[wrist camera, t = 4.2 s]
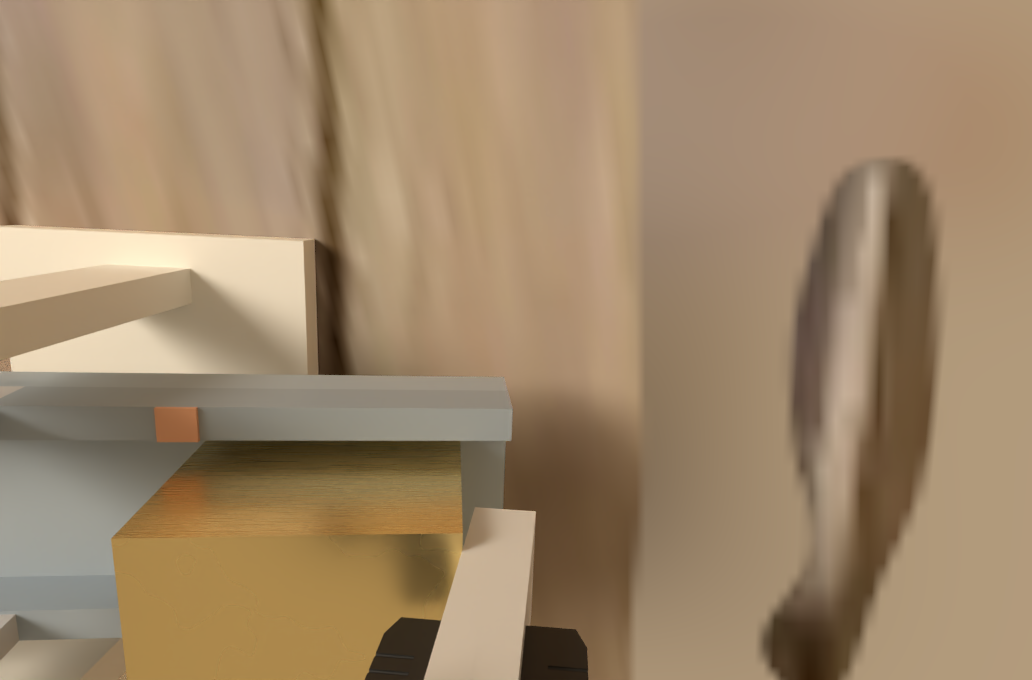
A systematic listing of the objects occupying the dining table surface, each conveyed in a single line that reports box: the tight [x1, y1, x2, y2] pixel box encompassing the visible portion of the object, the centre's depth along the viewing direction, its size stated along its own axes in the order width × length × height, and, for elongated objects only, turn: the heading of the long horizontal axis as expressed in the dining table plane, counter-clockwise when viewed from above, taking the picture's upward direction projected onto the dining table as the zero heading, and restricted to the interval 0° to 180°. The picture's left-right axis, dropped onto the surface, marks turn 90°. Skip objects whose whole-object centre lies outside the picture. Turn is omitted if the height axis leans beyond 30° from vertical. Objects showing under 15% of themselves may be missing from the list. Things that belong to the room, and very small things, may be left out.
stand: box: [0, 225, 319, 680], centre depth 17 cm, size 14×11×16 cm
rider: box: [111, 441, 463, 680], centre depth 17 cm, size 4×7×6 cm, turn 88°
